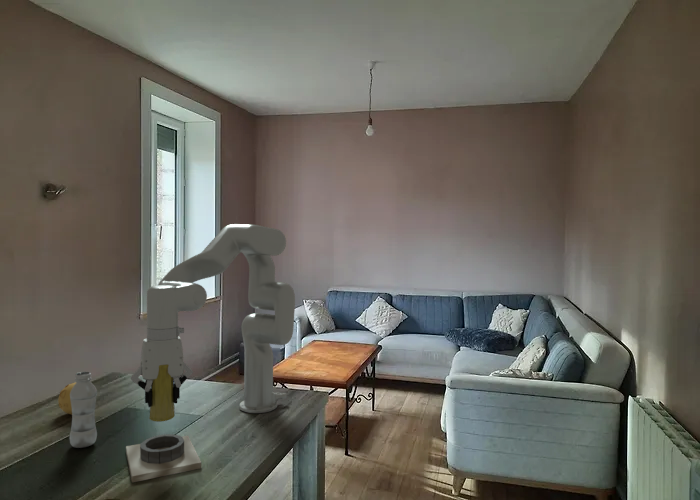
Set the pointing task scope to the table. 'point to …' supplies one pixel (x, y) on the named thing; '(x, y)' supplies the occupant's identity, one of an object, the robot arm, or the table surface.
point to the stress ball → (66, 399)
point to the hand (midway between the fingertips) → (162, 402)
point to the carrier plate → (161, 457)
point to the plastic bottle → (83, 411)
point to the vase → (162, 396)
